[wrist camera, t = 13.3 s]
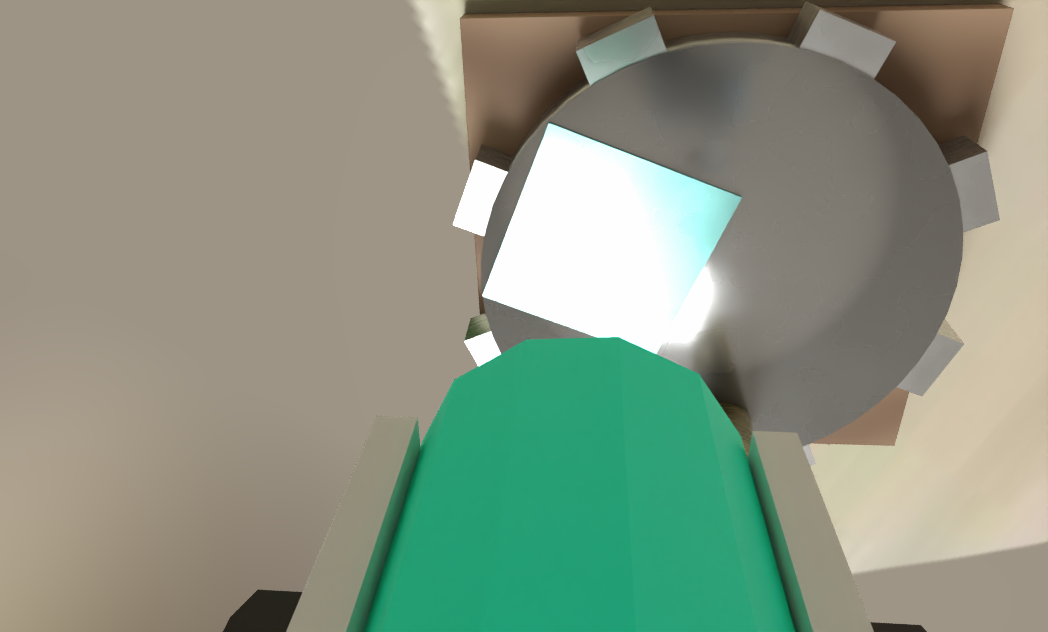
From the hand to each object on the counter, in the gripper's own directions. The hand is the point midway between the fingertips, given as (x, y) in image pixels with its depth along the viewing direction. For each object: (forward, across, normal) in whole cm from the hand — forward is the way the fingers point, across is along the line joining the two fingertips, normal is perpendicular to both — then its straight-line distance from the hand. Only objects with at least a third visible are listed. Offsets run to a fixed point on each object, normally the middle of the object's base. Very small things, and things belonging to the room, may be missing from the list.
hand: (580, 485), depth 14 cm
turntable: (+17, +5, -3) cm, 17 cm away
